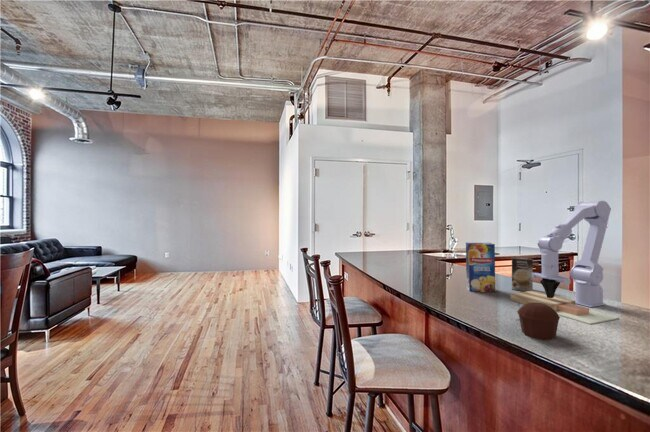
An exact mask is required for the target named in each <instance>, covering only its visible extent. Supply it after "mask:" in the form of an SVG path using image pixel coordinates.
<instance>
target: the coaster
mask: <svg viewBox="0 0 650 432" xmlns="http://www.w3.org/2000/svg"><path fill="white" fill-rule="evenodd" d="M557 310H558V311H562V312H565V313H569V314H572V315H576V316H578V315H584V314H589V310H590V307H587V306H583V305H579V304H575V305H574V304H570V303H569V304H562V305H557Z"/></svg>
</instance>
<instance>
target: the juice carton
mask: <svg viewBox="0 0 650 432" xmlns="http://www.w3.org/2000/svg"><path fill="white" fill-rule="evenodd" d="M495 249H496V246H495V243H492V242H465V263H466V264H465V268H466V269H465V271H466V272H465V273H466V275H465V276H466V278H465V279H466V281H465V282H466V284H465V286H466V289H467V290H468V291H469V292H473V291H480V293H481V292H482V293H496V252H495Z"/></svg>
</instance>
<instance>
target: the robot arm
mask: <svg viewBox="0 0 650 432" xmlns="http://www.w3.org/2000/svg"><path fill="white" fill-rule="evenodd" d="M573 209H574V211H572V213H571V214H570V215H569V216H568V217H567V218H566V220H565V221H564V222H563V223H558V224H556V225H555V226H554V228H553V229H551V231H550V232H548V233H547V235H546V236H541V237H540V238H539V240H538V242H537V247H538V249H539V253H540V254H541V272H540V273H539V272H533V273H532V277H533V279H534V278H536V279H541V280H539V281H540V284H541V285H542V287H543V289H544V292H545V294H546V295H547V298H554V296H555V294H556V291H557V289H558V287H559V286H560V285H561V284H564V285H565V284H566V285H571V278H572V280H573V282H575V288H574V289H575V293H574V294H575V300H574V301H575V305H579V306H583V307H587V308H594V307H595V308H596V307H600V306H606V303H604V290H603V287H602V285H600V284H602V282H603V280H604V273H603V272H604V267H603V266H602V265H601V264H599V263H598V262H599V260H600V259H599V258H600V254H601V251H602V250H601V249H602V246H603V243H604V239H605V236H606V231H607V227H608V223H609V217H610V213H611V210H612V208H611V207H610V204H609V203H608V202H607V201H605V200H598V201H597V200H596V201H595V200H594V201H580V202H578V203H577V205H574V208H573ZM583 220H584V221H586V222H588V224H589V227H588V231H587V233H586V238H585V243H584V246H583V250H582V253H581V257H580V259H578V260H576V261H575V262H574V263H573V266H572V268H571V269H570V271H569V272H570V273H569V274H570V278H568V277H564V276H562V275H561V276H560V274H559V271H560V270H559V251H560V250H561V249H562V248H563V244H564V242H565V240H566V239H567V238H569V236H570V235H571V234H572V232H573V230H572V229H573V228H574V227H575V226H577V225H578V224H579V223H581V221H583Z"/></svg>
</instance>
